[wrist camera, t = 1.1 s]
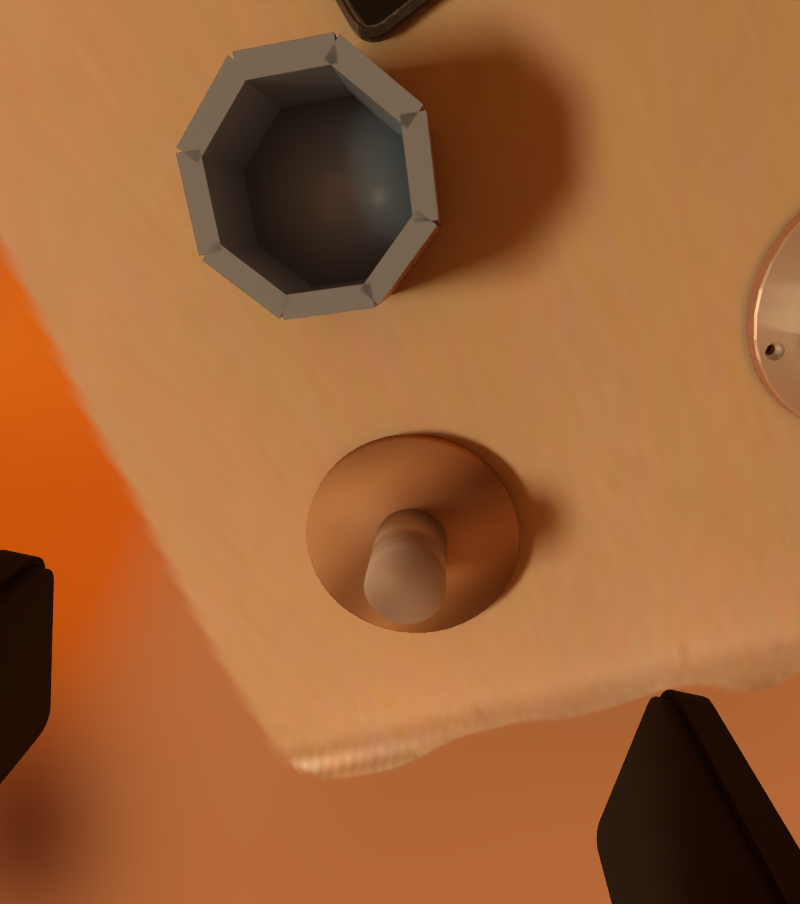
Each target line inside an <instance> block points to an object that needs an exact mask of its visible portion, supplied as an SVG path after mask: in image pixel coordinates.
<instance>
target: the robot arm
mask: <svg viewBox="0 0 800 904" xmlns="http://www.w3.org/2000/svg"><path fill="white" fill-rule="evenodd" d="M746 332H747V343H748V350H749V353H750V357H751V360H752V363H753V366H754V369H755V372H756V373H757V375H758V377H759V378H760V380H761V382H762V384H763V385H764V387H765V389H766V390H767V391H768V392H769V393H770V394H771V396H772V397H773V398H774V399H775V400H776V401H777V402H778V403H779V404H780V405H781V406H782V407H784V408H785V409H787V410H788V411H790V412H791V413H793V414H794V415H796V416H797V417H799V418H800V212H799V213H798V214H797V215H796V216H795V217H794V218H793V219H792V220H791V221H790V222H789V223H788V224H787V225H786V227H785V228H784V229H783V231H782V232H781V233H780V235H779V236H778V238H777V239H776V240H775V242H774V243H773V244H772V246H771V247H770V249H769V250H768V252H767V254H766V256H765V258H764V260H763V262H762V264H761V266H760V268H759V270H758V272H757V274H756V277H755V280H754V284H753V287H752V290H751V294H750V297H749V301H748V310H747V319H746ZM769 345H771V349H770V351H769V352H768V353H766V354H765V350H766V349H767V347H768V346H769ZM53 590H54V577H53V573H52V571H51V570H49V569H45V564H44V562H43V560H42V559H41V558H39V557H36V556H31V555H26V554H21V553H17V552H12V551H7V550H0V784H1V782H2V781H3V780H4V779H5V777H6V776H7V775H8V774H9V772H10V771H11V770H12V769H13V768H14V766H15V765H16V764H17V763H18V761H19V760H20V759H21V758H22V757H23V755H24V754H25V752H27V750H28V749H29V748H30V746H31V745H32V744H33V743H34V742H35V740H36V739H37V738H38V737H39V735H40V734H41V732H42V731H43V729H44V727H45V725H46V723H47V720H48V717H49V714H50V703H51V665H52V663H51V662H52V626H53ZM597 847H598V853H599V856H600V860H601V864H602V868H603V871H604V875H605V879H606V883H607V886H608V890H609V894H610V898H611V902H612V904H800V849H799V847H798V846H797V844H796V843H795V841H794V839H793V837H792V836H791V834H790V832H789V831H788V829H787V827H786V826H785V824H784V822H783V821H782V819H781V818H780V816H779V814H778V813H777V811H776V809H775V807H774V806H773V804H772V802H771V801H770V799H769V797H768V796H767V794H766V792H765V791H764V789H763V788H762V786H761V784H760V782H759V781H758V779H757V777H756V776H755V774H754V772H753V771H752V769H751V768H750V766H749V764H748V762H747V761H746V759H745V757H744V756H743V754H742V752H741V751H740V749H739V747H738V746H737V744H736V742H735V741H734V739H733V737H732V736H731V734H730V732H729V731H728V729H727V727H726V726H725V724H724V722H723V721H722V719H721V717H720V716H719V714H718V712H717V711H716V709H715V707H714V706H713V704H712V703H711V701H710V700H709V699H708V698H706V697H703V696H699V695H694V694H689V693H684V692H680V691H675V690H666V691H664V692H663V693H662V695H661V696H660V697H653V698H651V699H650V701H649V703H648V705H647V708H646V710H645V712H644V715H643V717H642V719H641V722H640V724H639V727H638V729H637V731H636V734H635V736H634V739H633V741H632V744H631V746H630V749H629V751H628V753H627V756H626V758H625V761H624V763H623V766H622V768H621V770H620V773H619V775H618V778H617V780H616V783H615V785H614V788H613V790H612V793H611V795H610V797H609V800H608V803H607V804H606V807H605V809H604V812H603V814H602V817H601V819H600V822H599V825H598V830H597Z"/></svg>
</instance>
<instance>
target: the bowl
mask: <svg viewBox="0 0 800 904" xmlns="http://www.w3.org/2000/svg"><path fill="white" fill-rule="evenodd" d="M233 56H234V60H233V59H232V58H231V57H230V56H227V57H226V59H225V61H224V63H223V65H222V66H221V68H220V70H219V72H218V74H217V75H216V77H215V79H214V81H213V83H212V84H211V86H210V88H209V90H208V92H207V93H206V95H205V97H204V99H203V101H202V102H201V104H200V106H199V108H198V110H197V111H196V113H195V115H194V117H193V119H192V120H191V122H190V124H189V126H188V128H187V129H186V131H185V133H184V135H183V137H182V138H181V140H180V142H179V144H178V146H177V148H178V149H180V150H181V151H182V152H179V153H176V156H177V160H178V165H179V169H180V174H181V178H182V182H183V187H184V191H185V196H186V200H187V204H188V209H189V213H190V218H191V222H192V227H193V231H194V235H195V240H196V244H197V249H198V253H199V255H205V256H204V258H203V260H202V261H204V262H205V263H206V264H208V265H209V266H210V267H212V268H213V269H214V270H216V271H217V272H218V273H220V274H221V275H222V276H224V277H225V278H226V279H228V280H229V281H230V282H232V283H233V284H234V285H235V286H237V287H238V288H239V289H241V290H242V291H243V292H245V293H246V294H247V295H249V296H250V297H251V298H253V299H254V300H255V301H257V302H258V303H259V304H261V305H262V306H263V307H265V308H266V309H267V310H268V311H270V312H271V313H272V314H274V315H275V316H276V317H278V318H281V317H284V320H286V319H294V318H301V317H309V316H316V315H324V314H331V313H339V312H346V311H354V310H361V309H368V308H375V307H376V306H377V305H379V304H381V303H382V302H383V301H384V300H385V299H387V298H388V297H389V296H390V295H391V294H392V293H393V292H394V291H395V289H396V288H397V287H398V285H399V284H400V283H401V281H402V280H403V278H404V277H405V276H406V274H407V273H408V272H409V270H410V269H411V268H412V266H413V265H414V263H415V262H416V261H417V259H418V258H419V257H420V255H421V254H422V253H423V251H424V250H425V248H426V247H427V246H428V244H429V243H430V242H431V240H432V239H433V238H434V236H435V235H436V233H437V232H438V231H439V229H440V228H439V227H438V226H437V224H441V216H440V207H439V198H438V189H437V180H436V171H435V162H434V153H433V143H432V135H431V130H430V126H429V121H428V116H427V111H426V110H424V105H423V104H422V103H421V102H420V101H419V100H417V99H416V98H415V97H414V96H413V95H411V94H410V93H409V92H408V91H407V90H406V89H404V88H403V87H402V86H401V85H400V84H398V83H397V82H396V81H395V80H394V79H392V78H391V77H390V76H389V75H388V74H387V73H385V72H384V71H383V70H382V69H381V68H379V67H378V66H377V65H376V64H375V63H374V62H372V61H371V60H370V59H369V58H368V57H366V56H365V55H364V54H363V53H362V52H360V51H359V50H358V49H357V48H356V47H355V46H353V45H352V44H351V43H350V42H349V41H347V40H346V39H345V38H344V37H343V36H342V35H340V34H339V36H338V38H337V37H336V35H335V34H334V32H333V33H327V34H322V35H317V36H312V37H306V38H301V39H296V40H291V41H285V42H280V43H275V44H269V45H264V46H259V47H254V48H248V49H243V50H238V51H233Z"/></svg>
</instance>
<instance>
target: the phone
mask: <svg viewBox="0 0 800 904" xmlns="http://www.w3.org/2000/svg"><path fill="white" fill-rule="evenodd" d="M435 1H436V0H336V2H337V4H338V6H339V7H340V9H341V11H342V13H343V14H344V16H345V18H346V20H347V21H348V23H349V25H350V27H351V29H352V30H353V31H354V33H355V34H356V35H357V36H358V37H359V38H361V39H362V40H364V41H367V42H372V43H373V42H380V41H382V40H384V39H386V38H388V37H389V36H390V35H392V34H393V33H394V32H396V31H397V30H398V29H399V28H401V27H402V26H403V25H405V24H406V23H407V22H409V21H410V20H411V19H412V18H414V17H415V16H416V15H418V14H419V13H420V12H422V11H423V10H424V9H426V8H427V7H428V6H429V5H431V4H432V3H433V2H435ZM398 26H399V27H398ZM397 27H398V28H397Z"/></svg>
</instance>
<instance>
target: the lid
mask: <svg viewBox="0 0 800 904" xmlns="http://www.w3.org/2000/svg"><path fill="white" fill-rule="evenodd" d="M306 540H307V548H308V553H309V557H310V560H311V563H312V566H313V568H314V570H315V573H316V575H317V576H318V578H319V580H320V582H321V583H322V585H323V586H324V587H325V589H326V590H327V591H328V593H329V594H330V595H331V596H332V597H333V598H334V599H335V600H336V601H337V602H338V603H339V604H340V605H341V606H343V607H344V608H345V609H346V610H348V611H349V612H350V613H352V614H354V615H355V616H357V617H358V618H360V619H362V620H364V621H366V622H368V623H371V624H373V625H376V626H379V627H382V628H385V629H389V630H394V631H399V632H409V633H426V632H434V631H440V630H444V629H448V628H451V627H454V626H457V625H459V624H462V623H464V622H466V621H468V620H470V619H472V618H474V617H475V616H477V615H478V614H480V613H481V612H483V611H484V610H485V609H486V608H488V607H489V606H490V605H491V604H492V603H493V602H494V601H495V600H496V599H497V598H498V596H499V595H500V594H501V593H502V592H503V590H504V588H505V587H506V585H507V584H508V582H509V580H510V578H511V576H512V574H513V572H514V569H515V566H516V562H517V559H518V553H519V545H520V539H519V526H518V520H517V515H516V511H515V508H514V505H513V502H512V499H511V497H510V495H509V493H508V491H507V489H506V487H505V485H504V484H503V482H502V481H501V479H500V478H499V476H498V475H497V474H496V473H495V472H494V471H493V470H492V468H491V467H490V466H489V465H487V464H486V463H485V462H484V461H483V460H482V459H481V458H479V457H478V456H476V455H475V454H473V453H472V452H470V451H469V450H467V449H465V448H463V447H461V446H459V445H457V444H455V443H453V442H450V441H447V440H444V439H441V438H436V437H431V436H426V435H414V434H410V435H395V436H390V437H384V438H381V439H378V440H374V441H371V442H369V443H367V444H364V445H362V446H360V447H358V448H356V449H355V450H353V451H352V452H350V453H349V454H347V455H346V456H345V457H343V458H342V459H341V460H340V461H339V462H337V463H336V464H335V466H334V467H333V468H332V469H331V470H330V471H329V472H328V474H327V475H326V477H325V478H324V480H323V481H322V483H321V484H320V486H319V488H318V490H317V492H316V494H315V496H314V498H313V500H312V503H311V506H310V509H309V513H308V518H307V525H306Z"/></svg>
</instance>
